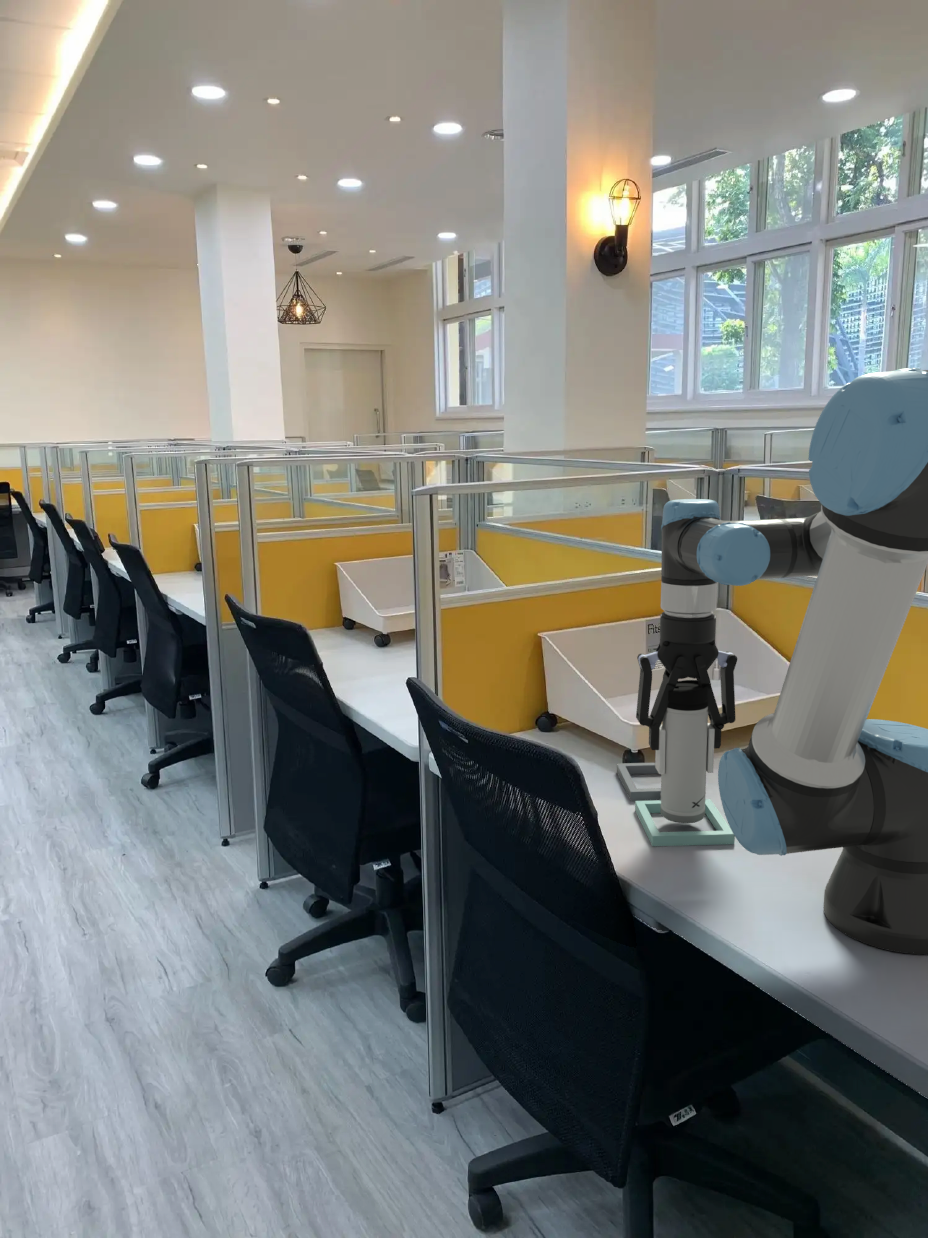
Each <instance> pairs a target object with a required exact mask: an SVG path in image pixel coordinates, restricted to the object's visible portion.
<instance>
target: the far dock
mask: <svg viewBox="0 0 928 1238" xmlns="http://www.w3.org/2000/svg"><path fill="white" fill-rule="evenodd" d="M616 773H617V775H618V777H619V780H620V783H621V784H622V786H623V787H624V790H625V792H626V795H627V796H628V798H629V800H630V802H635V801H654V800H661V787H654V788H653V787H651V788H650V787H649V788H637V786H636V784H635V783H634V780H633V778H632V776H631V775H648V774H649V775H652V774H653V775H656V774H659V773H658V771H657V769H656V768H655V762H631V763H630V762H627V763H624V762H623V763H616ZM659 775H660V774H659Z"/></svg>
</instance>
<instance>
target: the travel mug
mask: <svg viewBox="0 0 928 1238" xmlns="http://www.w3.org/2000/svg"><path fill="white" fill-rule="evenodd" d="M705 685H709V689H711V687H712V683H711V682H710V684H705ZM705 685H704V686H703V688H701V687H700V686H699V684H698V681H697V679H682V680H678V682H677V685H676V686H675V687H674V690H673V691H668V701H669V703H668V707H667V709H666V712H665V715H664V718H663V721H662V723H661V724H662V726H663V728H664V729H665V730H666V736H665V774H660V775H661V777H660V778H661V779H660V788H661V813H660V814H661V816H662V817H663V818H664V819H666V820H668V821H670V822H672V823H677V824H694V823H698V822H701V821H702V820H703V819H704V818H705V816H706V814H705V799H706V794H707V793H706V791H707V788H706V787H707V783H706V782H707V771H706V763H707V730H708V723H709V721H708V720H709V716H708V702H707V700H708V693H707V688H708V686H706V687H705Z"/></svg>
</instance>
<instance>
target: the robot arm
mask: <svg viewBox="0 0 928 1238" xmlns="http://www.w3.org/2000/svg"><path fill="white" fill-rule="evenodd" d="M808 460H809V461H810V462H812V463H811V467H810V469H809V470H808V478H809V483H810V486H811V489H812V491H813V494H814V496H815V497H816V499H817V500H818V502H819V503H820V504H821V506H820V511H818V512H816V513H814V514H812V515H809V516H807V517H798V518H797V517H795V518H793V517H792V518H774V519H769V518H768V519H748V520H745V519H743V520H722V517H721V516H720V514H721V513H720V505H719V504H718V502H717V501H716V500H715V499H713V500H712V499H704V498H703V499H702V498H684V499H683V498H681V499H673V500H672V499H671V500H669V501H667V502H666V503H665V504H664V505H663V510H662V511H663V512H662V522H661V526H660V531H661V576H660V577H661V580H660V581H661V583H660V584H661V585H660V609H661V610H663V612H662V613H660V614H659V615H660V616H659V618H660V619H659V620H660V621H659V644H658V646H657V648H656V649H655V651H654V652H651V653H647V654H644V653H639V654H638V655H637V656H636V657H637V662H638V666H639V681H638V691H637V702H636V703H637V704H636V714H635V718H636V720H637V722H638V723H639V725H641V726H644V727H645V726H646V727H648V746H649V748H650V749H651V750H652V751H655V760H654V761H655V762H654V763H655V768H656V769H657V771H658V773H659V775H661V774H665V736H666V730H665V729H664V728H663V726H662V721H663V718H664V715H665V712H666V709H667V707H668V703H669V701H668V691H673V690H674V687H675V686H676V685H677V682H678V681H679V680H685V679H686V678H689V679H693V680H697V681H698V684H699V686H700V687H701V688H703V686H704V685H705V684H710V683H711V679H710V676H709V673H708V670H709V669H710V668H711V666H712V665H713V663H715V661H716V660H717V665H718V666H720V668H719V670H720V671H719V673H720V674H719V675H720V677H719V678H720V693H721V694H720V697H721V713H720V711H719V707H718V703H717V700H716V697H715V694H714V690H713V687H712V686H711V689H709V685H705V687H706V686H708V688H707V693H708V700H707V702H708V720H709V722H708V730H707V763H706V773H707V774H713V773H714V762H715V761H714V758H715V756H714V755H715V754H714V753H715V749H720V747H721V746H722V730H723V729H724V728H725V725H727V724H733V723H735V722H736V718H737V717H736V698H735V696H736V695H735V694H736V693H735V675H734V674H735V673H734V672H735V669H736V666H737V661H738V657H737V655H735V654H734V653H733V652H732V651H730V650H729V651H722V650H719V649H718V647H717V645H716V633H717V632H716V631H717V629H716V628H717V615H716V614H715V611H716V610H717V607H718V606H717V603H718V602H717V599H718V583H719V584H720V585H726V586H728V585H730V586H735V587H738V586H739V587H742V586H743V587H744V586H747V585H750V584H752V583H754V582H756V580H768V579H769V580H772V579H785V578H796V577H797V578H798V577H803V578H804V577H816V580H815V583H814V586H813V588H812V589H813V590H812V592H811V596H810V598H809V601H808V605H807V608H806V611H805V614H804V617H803V621H802V623H801V627H800V630H799V634H798V636H797V640H796V643H795V646H794V649H793V653H792V655H791V658H790V662H789V666H788V669H787V672H786V674H785V676H784V681H783V683H782V686H781V690H780V693H779V695H778V700H777V702H776V707H775V710H774V712H773V713H770V714H767V715H765V716H764V717H762V718H761V719H759V720H758V721H757V722H756V724H755V725H754V727H753V730H752V733H751V735H750V738H749V743H748V745H747V747H745V748H740V747H734V748H733V749H731V750H727V751H724V753H723V754H722V756H721V757H720V760H719V763H718V768H717V769H718V770H717V783H718V784H717V785H718V791H719V796H720V801H721V806H722V809H723V813H724V815H725V817H726V822H727V824H728V825H729V826H730V828H731V830H732V832H733V834H734V836H735V839H736V840H737V843H739V844H740V845H741V847H743V848H744V849H745V850H746V851H748V852H750V853H752V854H755V855H759V856H766V855H768V856H769V855H779V856H781V857H782V856H786V855H788V854H797V853H806V852H815V851H825V850H832V849H838V848H842V851H841V853H840V855H839V857H838V860H837V861H836V864H835V866H834V868H833V870H832V873H831V874H830V876H829V879H828V881H827V883H826V886H825V889H824V895H823V913H824V915H825V917H826V919H827V920H828V921H829V923H831V925H832V926H834V927H835V928H836V929H837V930H839V931H840V932H841V933H842V934H845V935H846V936H848V937H850V938H851V939H854V940H856V941H858V942H861V943H863V944H865V945H869V946H871V947H874V948H878V949H882V950H886V951H891V952H895V953H896V952H897V953H900V954H901V953H903V954H911V955H913V954H914V955H928V728H925V727H922V726H917V725H914V724H910V723H906V722H905V723H904V722H901V721H895V720H886V719H876V718H871V719H869V718H868V717H869V713H870V711H871V708H872V706H873V703H874V702H875V698H876V696H877V693H878V691H879V688H880V686H881V683H882V682H883V678H884V676H885V672H886V671H887V668H888V665H889V663H890V660H891V658H892V655H893V652H894V650H895V648H896V645H897V643H898V640H899V637H900V635H901V634H902V633H901V632H902V630H903V627H904V625H905V622H906V620H907V617H908V614H909V612H910V610H911V607H912V604H913V602H914V599H915V597H916V594H917V591H918V589H919V586H920V583H921V581H922V579H923V576H924V573H925V571H926V570H927V566H928V369H921V368H918V367H905V368H897V369H894V370H891V371H881V372H880V371H879V372H871V373H866V374H862V375H860V376H857V377H856V378H854V379H853V380H852V381H851V382H848V383H846V384H844V385H843V386H842V387H840V388H839V389H838V390H837V391H836V392H835V393H834V394H833V396H832V397H831V398H830V399H829V400H828V402H827V403H826V405H825V406H824V408H823V409H822V411H821V413H820V415H819V416H818V419H817V421H816V423H815V426H814V428H813V432H812V436H811V439H810V445H809V450H808ZM713 612H714V613H713ZM657 661H660V664H661V665H662V666H663V667H664V668H665V669H664V672H663V675H662V680H661V684H660V687H659V689H658V693H657V695H656V697H655V700H654V703H653V706H652V709H651V711H650V705H651V704H650V703H651V695H652V694H651V693H652V692H651V691H652V684H653V683H652V681H653V670H654V669H655V668H656V664H657ZM649 714H650V715H649ZM867 718H868V719H867Z"/></svg>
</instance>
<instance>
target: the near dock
mask: <svg viewBox="0 0 928 1238" xmlns="http://www.w3.org/2000/svg"><path fill="white" fill-rule="evenodd" d="M634 802H635V803H634V810H635V813H636V816H637V817H638V819H639V821H640V823H641V826H642V828H643V830H644V833H645V834H646V836H647V838H648V840H649V843H650V842H651V843H650V844H651V847H673V846H674V847H679V846H684V847H685V846H712V845H713V846H714V845H717V846H718V845H735V842H736V841H735V839H736V837H735V836H734V834H733V832H732V830H731V828H730V826H729V824H728V821H727V820H726V819H725V818H724V816H723V815H722V814H721V811H719V809H718V807H716V805H715V803H714V802H713V801H712V799H711V798H705V816H706V817H707V818H708V819H709V822H710V823H711V824H712V826H713V828H714V829H715V830H698V831H669V832H668V831H661V832H660V830H659V828H658V827H657V825H656V823H655V821H654V819H653V817H652V816H651V814H661V800H648V801H634Z"/></svg>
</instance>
